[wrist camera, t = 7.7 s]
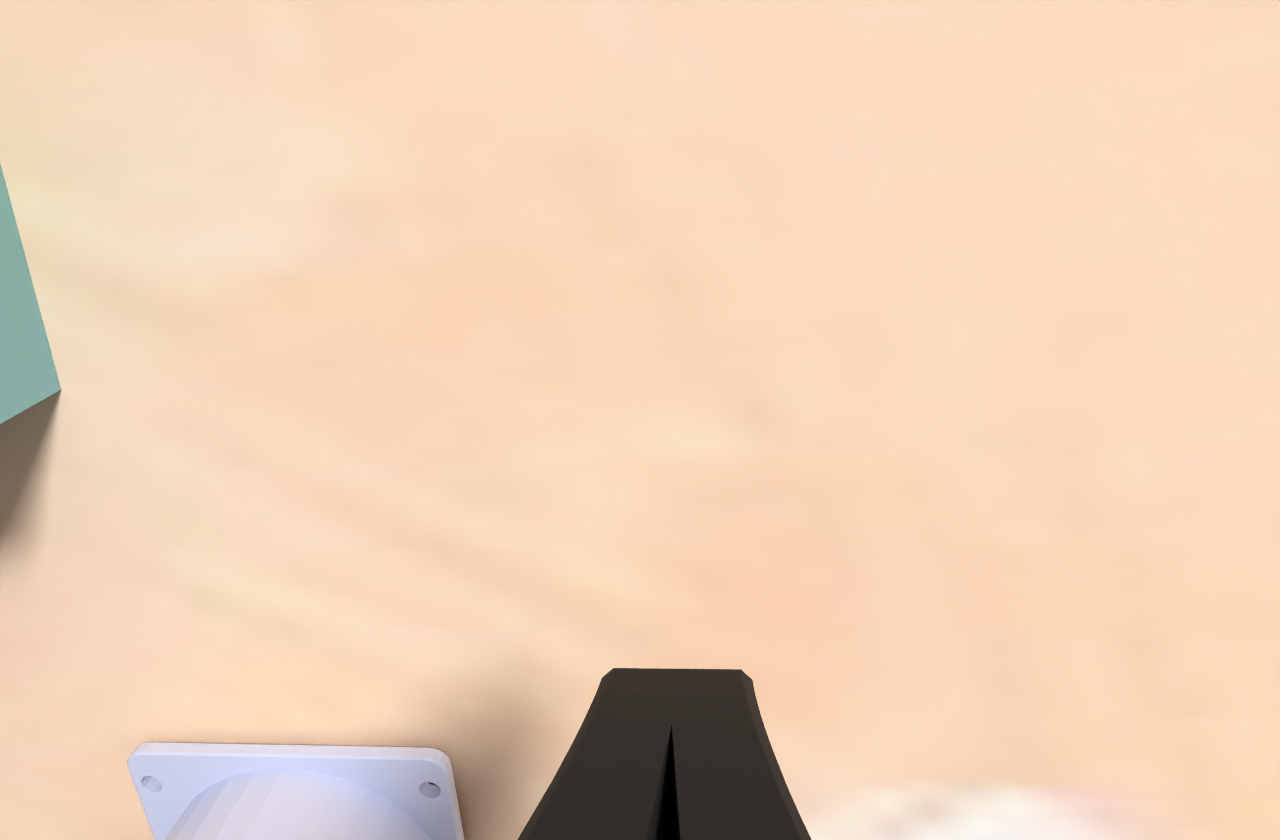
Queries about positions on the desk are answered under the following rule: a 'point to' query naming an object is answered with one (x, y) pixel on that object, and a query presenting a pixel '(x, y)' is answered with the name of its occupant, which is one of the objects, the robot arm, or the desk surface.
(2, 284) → the teal block
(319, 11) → the desk surface
